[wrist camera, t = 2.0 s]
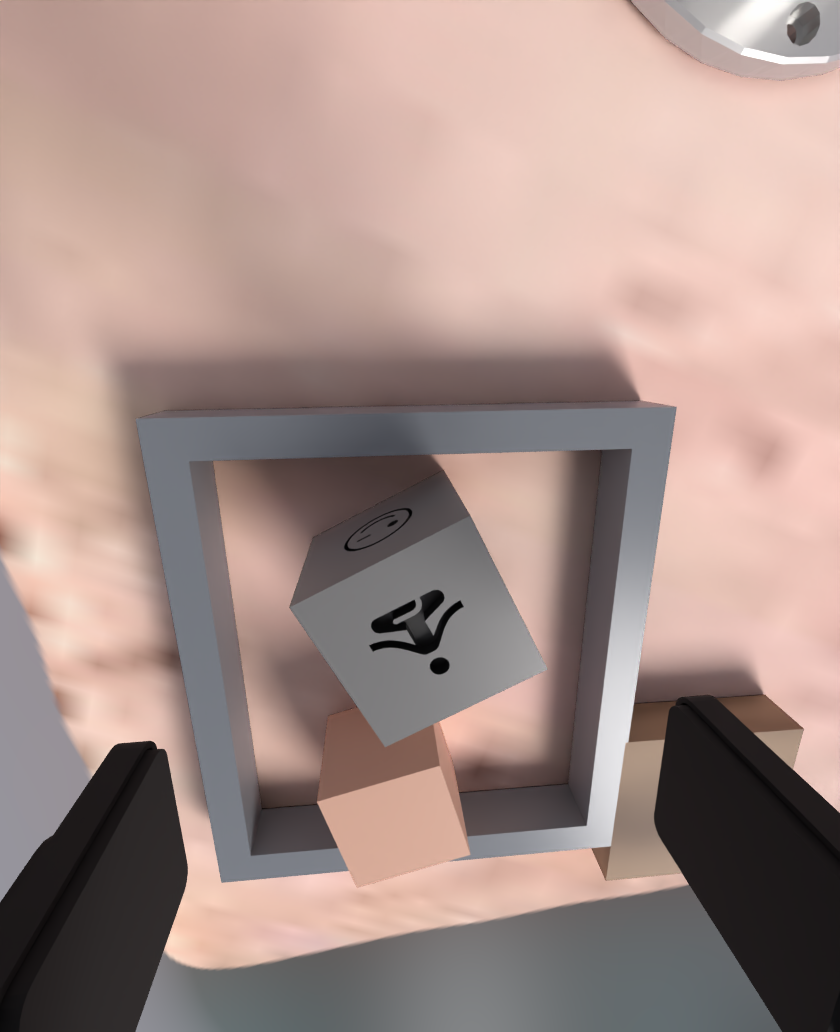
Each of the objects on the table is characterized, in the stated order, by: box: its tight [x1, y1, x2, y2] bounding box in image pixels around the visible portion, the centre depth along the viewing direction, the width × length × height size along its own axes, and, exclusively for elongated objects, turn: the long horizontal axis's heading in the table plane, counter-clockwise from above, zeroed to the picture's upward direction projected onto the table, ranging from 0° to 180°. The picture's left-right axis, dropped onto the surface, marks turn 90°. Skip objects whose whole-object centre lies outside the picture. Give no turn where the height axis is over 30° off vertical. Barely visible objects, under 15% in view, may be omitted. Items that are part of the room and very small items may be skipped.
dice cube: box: [289, 470, 547, 747], centre depth 15 cm, size 5×5×5 cm
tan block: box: [592, 695, 804, 881], centre depth 21 cm, size 7×7×2 cm
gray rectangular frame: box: [136, 401, 677, 883], centre depth 18 cm, size 17×15×2 cm
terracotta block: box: [317, 707, 471, 888], centre depth 18 cm, size 4×4×4 cm
